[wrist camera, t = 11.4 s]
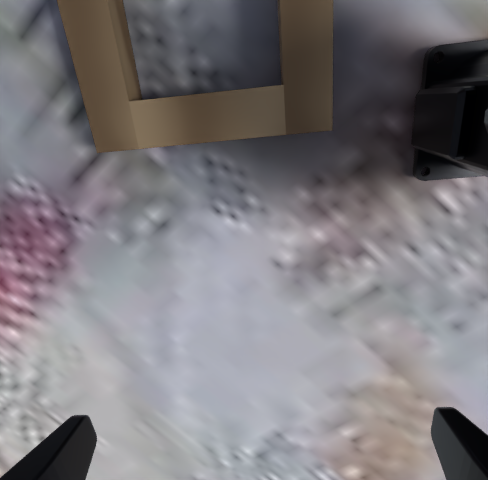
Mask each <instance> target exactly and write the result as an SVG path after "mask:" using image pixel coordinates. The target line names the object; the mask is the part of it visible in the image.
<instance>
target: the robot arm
mask: <svg viewBox="0 0 488 480" xmlns="http://www.w3.org/2000/svg"><path fill="white" fill-rule="evenodd" d="M436 52H438V53H439V54H440V60H439V61H438V62H437V63H435V62H434V60H433V57H434V54H435V53H436ZM411 143H412V145H413V146H414V147H415V155H414V165H413V175H414V176H415V177H416V178H417V179H419V180H422V181H428V180H440V179H452V178H465V177H477V176H486V177H488V40H480V41H472V42H463V43H454V44H446V45H439V46H436V47H433V48H431V49H430V50H428V52H427V53H426V55H425V58H424V66H423V76H422V86H421V90H420V91H419V92H418V94H417V95H416V101H415V111H414V122H413V132H412V142H411ZM424 167H427V172H426V173H425V174H423V175H421V170H422V169H423V168H424ZM431 436H432V440H433V443H434V446H435V449H436V452H437V454H438V457H439V460H440V463H441V466H442V468H443V471H444V474H445V477H446V480H488V435H487V434H486V433H484V432H483V431H482V430H481V429H480V428H478V427H477V426H476V425H475V424H474V423H472V422H471V421H470V420H469V419H468V418H466V417H465V416H464V415H463V414H461V413H460V412H459V411H458V410H456V409H455V408H453V407H437V408H436V409H435V410H434V415H433V421H432V426H431ZM96 442H97V436H96V432H95V430H94V427H93V425H92V422H91V420H90V417H89V416H87V415H74V416H72V417H70V418H69V419H68V420H66V421H65V422H64V423H63V424H62V425H61V426H59V427H58V428H57V429H56V430H55V431H54V432H53V433H51V434H50V435H49V436H48V437H47V438H46V439H44V440H43V441H42V442H41V443H40V444H39V445H38V446H36V447H35V448H34V449H33V450H32V451H31V452H29V453H28V454H27V455H26V456H25V457H24V458H23V459H21V460H20V461H19V462H18V463H17V464H16V465H14V466H13V467H12V468H11V469H10V470H9V471H8V472H6V473H5V474H4V475H3V476H2V477H1V478H0V480H85V479H86V476H87V473H88V469H89V466H90V463H91V460H92V456H93V453H94V450H95V447H96Z"/></svg>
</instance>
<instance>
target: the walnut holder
mask: <svg viewBox="0 0 488 480" xmlns="http://www.w3.org/2000/svg"><path fill="white" fill-rule="evenodd" d="M57 3H58V7H59V10H60V14H61V18H62V22H63V25H64V29H65V33H66V37H67V41H68V44H69V48H70V52H71V56H72V60H73V63H74V67H75V71H76V75H77V78H78V82H79V86H80V90H81V94H82V97H83V101H84V105H85V109H86V113H87V116H88V120H89V124H90V128H91V131H92V135H93V139H94V143H95V147H96V150H97V153H102V152H112V151H123V150H133V149H144V148H154V147H165V146H175V145H185V144H196V143H206V142H217V141H227V140H237V139H248V138H258V137H269V136H279V135H289V134H300V133H310V132H321V131H331V130H332V126H333V0H277V3H278V23H279V44H280V64H281V85H275V86H266V87H257V88H248V89H239V90H230V91H221V92H212V93H202V94H193V95H184V96H175V97H166V98H157V99H148V100H142V95H141V90H140V85H139V80H138V75H137V70H136V65H135V60H134V55H133V50H132V45H131V40H130V35H129V30H128V25H127V20H126V15H125V10H124V5H123V0H57Z"/></svg>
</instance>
